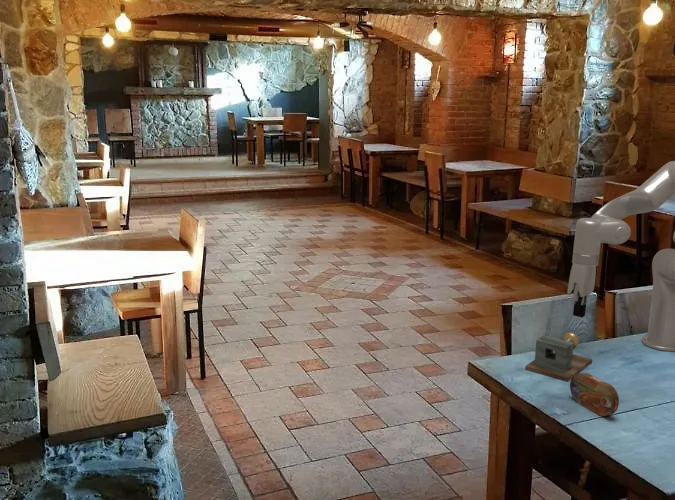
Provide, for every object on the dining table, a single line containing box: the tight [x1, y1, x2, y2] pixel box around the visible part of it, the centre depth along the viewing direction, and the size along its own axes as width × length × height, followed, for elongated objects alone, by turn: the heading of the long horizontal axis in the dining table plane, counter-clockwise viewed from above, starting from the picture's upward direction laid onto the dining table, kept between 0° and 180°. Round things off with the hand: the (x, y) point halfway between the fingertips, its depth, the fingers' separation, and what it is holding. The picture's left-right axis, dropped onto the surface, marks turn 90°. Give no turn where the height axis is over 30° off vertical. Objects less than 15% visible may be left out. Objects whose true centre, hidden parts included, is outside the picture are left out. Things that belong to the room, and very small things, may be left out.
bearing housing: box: [524, 335, 593, 383], centre depth 202 cm, size 18×13×9 cm
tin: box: [569, 372, 620, 417], centre depth 176 cm, size 15×3×8 cm, turn 23°
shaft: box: [549, 331, 580, 356], centre depth 203 cm, size 13×5×5 cm, turn 139°
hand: (578, 315), depth 211 cm, fingers closed
